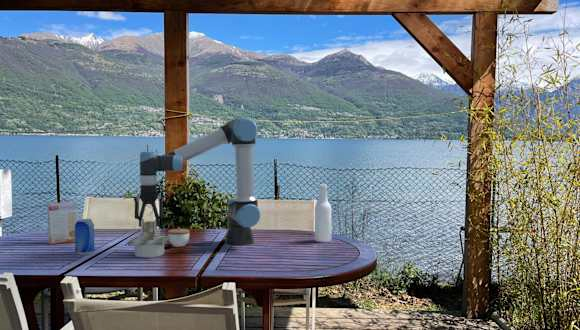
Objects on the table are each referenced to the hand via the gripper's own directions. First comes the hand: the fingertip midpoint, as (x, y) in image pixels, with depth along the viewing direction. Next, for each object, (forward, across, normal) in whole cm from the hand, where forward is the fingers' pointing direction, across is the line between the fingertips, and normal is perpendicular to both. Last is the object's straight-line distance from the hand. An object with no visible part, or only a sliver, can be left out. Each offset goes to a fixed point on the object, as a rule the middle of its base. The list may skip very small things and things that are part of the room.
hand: (149, 233), depth 253 cm
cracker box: (+10, +52, -29) cm, 60 cm away
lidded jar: (+10, -10, -20) cm, 25 cm away
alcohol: (+10, -84, -31) cm, 90 cm away
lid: (+4, 0, 0) cm, 4 cm away
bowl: (+10, 0, 0) cm, 10 cm away
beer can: (+10, +31, -2) cm, 33 cm away
